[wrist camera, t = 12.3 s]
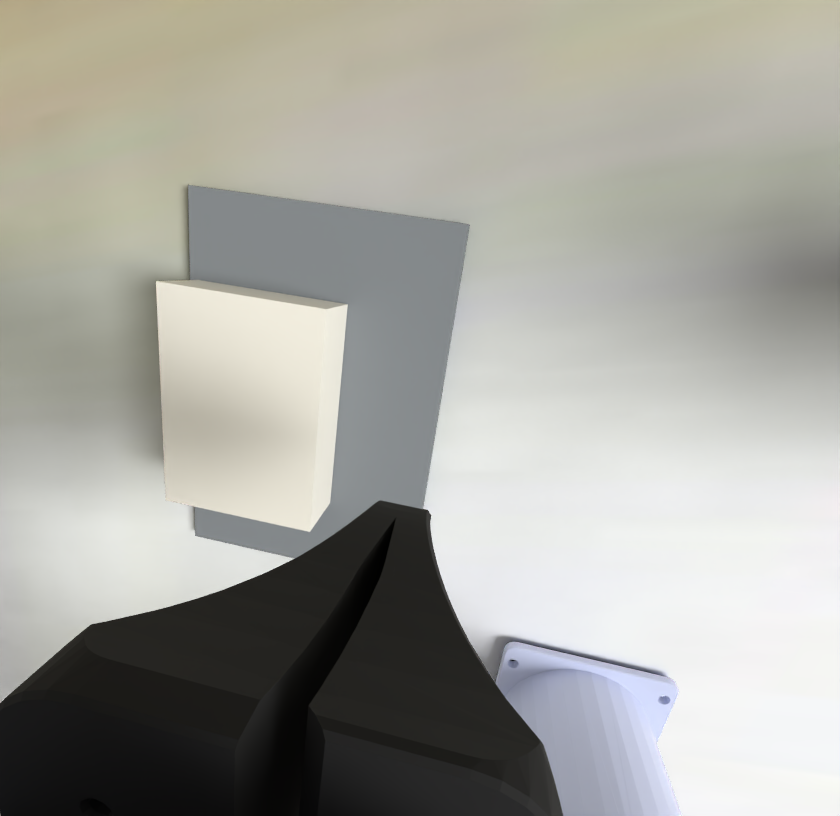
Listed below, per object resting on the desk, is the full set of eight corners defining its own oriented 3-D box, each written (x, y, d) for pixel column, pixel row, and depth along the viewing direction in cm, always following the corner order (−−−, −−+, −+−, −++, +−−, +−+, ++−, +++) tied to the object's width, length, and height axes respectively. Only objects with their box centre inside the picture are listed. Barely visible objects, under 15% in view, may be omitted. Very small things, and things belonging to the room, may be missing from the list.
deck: (309, 532, 18) (165, 500, 19) (330, 502, 20) (201, 474, 21) (326, 308, 15) (155, 280, 16) (348, 304, 18) (198, 279, 18)
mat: (411, 579, 21) (409, 584, 21) (200, 531, 23) (195, 535, 22) (469, 225, 16) (469, 224, 16) (194, 186, 18) (188, 184, 17)
